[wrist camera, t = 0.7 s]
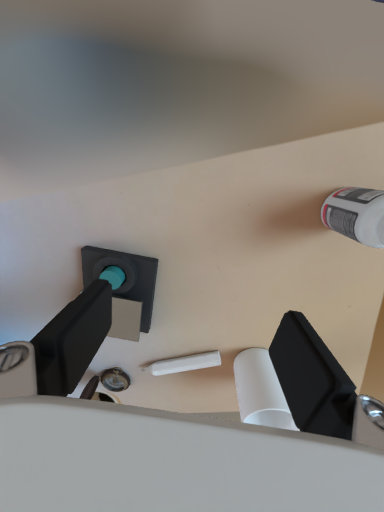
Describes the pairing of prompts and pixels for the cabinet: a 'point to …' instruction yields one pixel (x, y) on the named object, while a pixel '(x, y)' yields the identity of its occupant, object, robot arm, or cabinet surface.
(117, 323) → the pan
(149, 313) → the scale
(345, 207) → the pill bottle
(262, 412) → the cup
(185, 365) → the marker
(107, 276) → the button
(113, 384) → the compass
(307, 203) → the cabinet surface
